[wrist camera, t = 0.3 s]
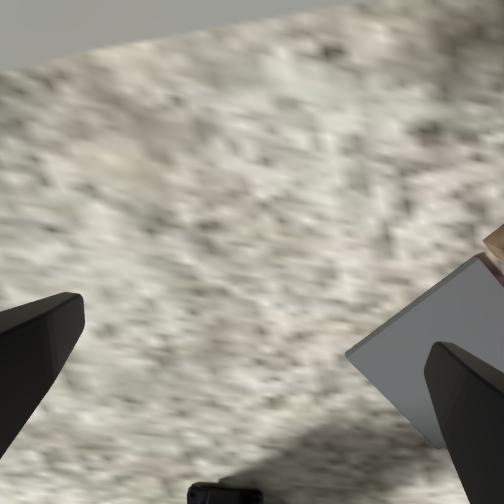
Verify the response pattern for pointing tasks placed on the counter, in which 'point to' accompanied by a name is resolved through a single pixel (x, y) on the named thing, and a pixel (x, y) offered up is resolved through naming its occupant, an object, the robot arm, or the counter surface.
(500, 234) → the walnut cradle
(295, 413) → the counter surface
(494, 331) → the rubber mat
